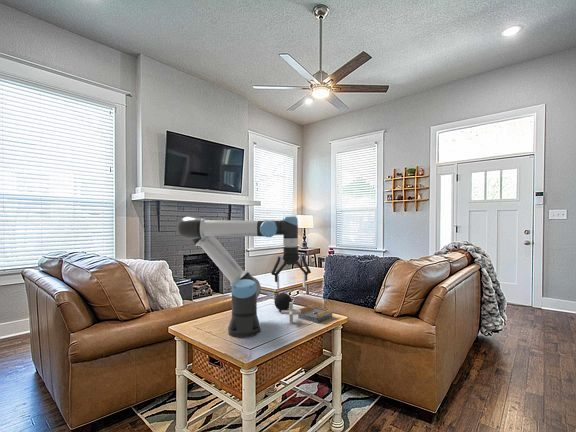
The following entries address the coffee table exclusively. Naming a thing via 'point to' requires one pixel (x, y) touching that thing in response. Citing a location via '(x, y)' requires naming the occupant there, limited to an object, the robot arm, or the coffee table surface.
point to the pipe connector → (291, 312)
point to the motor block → (314, 314)
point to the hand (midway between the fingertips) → (291, 287)
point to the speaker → (282, 301)
